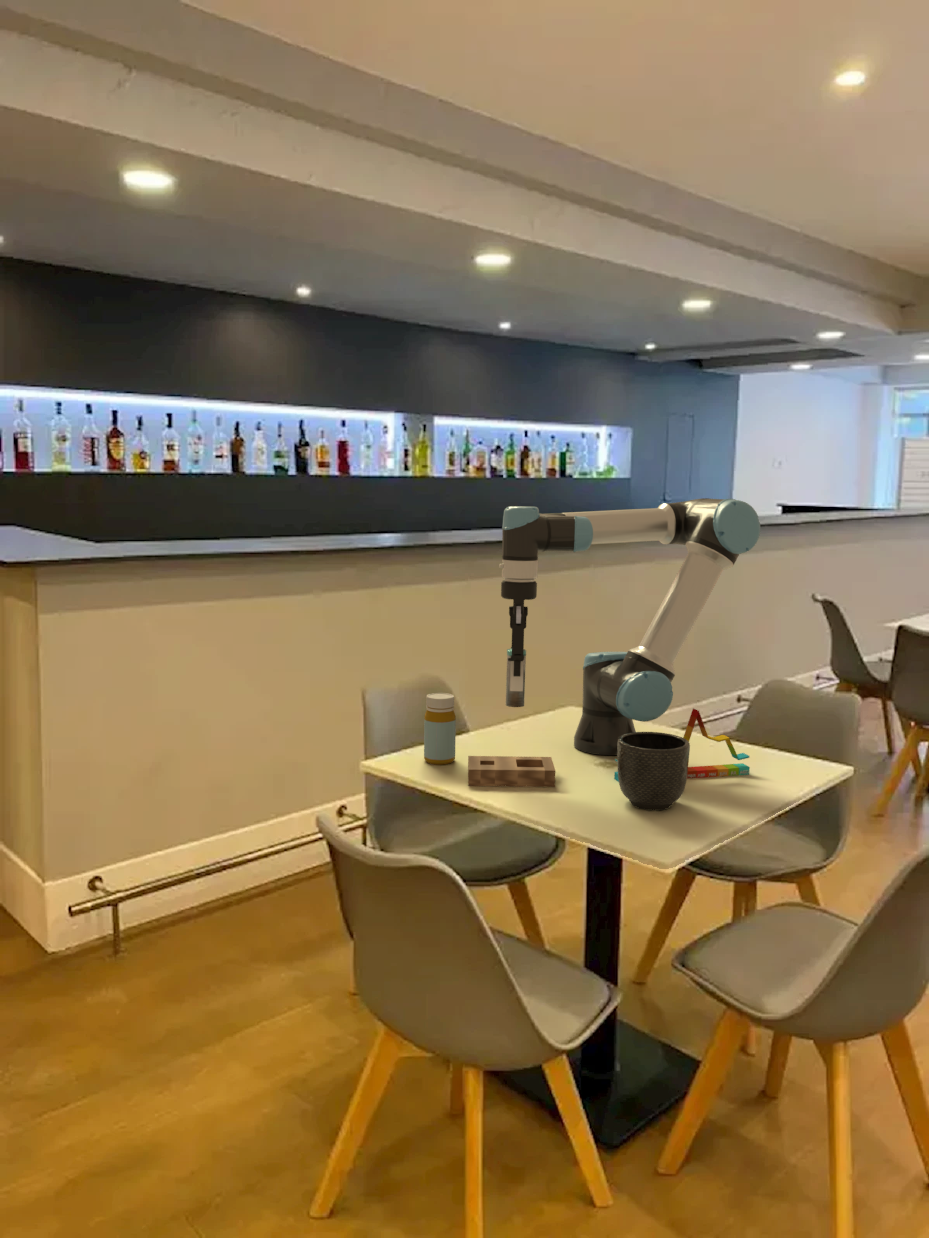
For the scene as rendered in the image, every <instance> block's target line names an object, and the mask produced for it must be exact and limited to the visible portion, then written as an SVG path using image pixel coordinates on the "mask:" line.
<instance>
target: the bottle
mask: <svg viewBox="0 0 929 1238" xmlns="http://www.w3.org/2000/svg"><path fill="white" fill-rule="evenodd" d="M425 699H426V700H425V701H426V711H425V714H424V725H423V726H424V727H423V728H424V729H423V730H424V731H423V733H424V734H423V735H424V737H423V759H424V760H425V762H426V763H428V764H431V765H435V766H436V765H438V766H445V765H449V764H452V763H453V762H454V761H455V760H456V735H457V734H456V733H457V731H456V726H457V724H456V723H457V722H456V721H457V720H456V714H455V707H454V706H455V696H454V694H453V693H452V694H451V693H447V692H434V693H428V694H426V698H425Z"/></svg>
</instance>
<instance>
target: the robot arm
mask: <svg viewBox="0 0 929 1238" xmlns="http://www.w3.org/2000/svg"><path fill="white" fill-rule="evenodd" d="M760 522H761V521H760V519H759V515H758V513H757V511H756V510H755V508H754V507H753V506H752V505H751V504H749V503H747V502H745V501H743V500H739V499H738V500H737V499H736V498H735V499H734V498H725V499H722V498H721V499H720V498H709V497H708V498H706V497H705V498H702V497H701V498H697V499H696V498H695V499H689V500H684V501H677V502H669V503H668V502H667V503H661V504H659V505H658V507H654V508H653V507H652V508H634V509H632V508H631V509H615V510H612V509H611V510H610V509H609V510H594V511H593V510H591V511H574V512H573V511H571V512H570V511H569V512H553V513H542V512H540V510H539V507H537V506H521V505H519V506H518V505H515V506H514V505H511V506H510V505H509V506H506V508H504V510H503V516H502V527H501V530H502V536H501V537H502V543H501V544H502V546H501V548H502V554H501V555H502V556H501V559H502V560H501V562H502V563H499V565H498V568H499V569H501V578H503V580H502V581H501V584H500V585H501V586H500V587H501V588H500V597H502V599H505V600H512V602H513V604H512V605H509V608H508V615H509V628H510V629H511V646H510V649H512V655H511V658H508V661H511V671H510V691H523V665H524V661H523V660H524V655H523V651H524V645H525V629H526V628H527V617H528V614H529V607H528V606H525V601H526V600H528V601H529V600H530V601H531V600H536V598H537V590H538V583H537V581H536V580H537V578H538V568H539V567H538V566H539V565H538V564H539V562H538V561H539V558H538V557H539V552H542V553H543V552H573V553H576V552H585V551H587V550H589V549H590V547H591V546H592V545H601V544H620V543H637V542H655V541H657V542H658V541H659V543H661V544H662V545H681V546H685V547H686V550H687V555H686V556H685V558H684V561H683V562H682V564H681V565H680V568H679V570H678V571H677V573H676V575H675V577H674V579H673V581H672V582H671V585H670V586H669V588H668V590H667V592H666V594H665V596H664V598H663V600H662V602H661V604H660V605H659V607H658V609H657V611H656V612H655V615H654V617H653V618H652V620H651V623H650V624H649V626H648V628H647V629H646V631H645V634H644V635H643V637H642V639H641V641H640V643H639V644H638V646H636V647H632V648H630V649H628V650H627V651H598V652H589V653H586V655H585V656H584V659H583V667H582V671H583V674H582V675H583V676H582V709H581V710H582V713H581V714H582V715H581V717H580V719H579V721H578V725H577V728H576V731H575V734H574V737H573V738H574V739H573V746H574V748H575V749H577V750H578V751H582V752H584V753H587V754H593V755H599V756H600V755H601V756H617V741H618V738H619V737H620V736H621V735H624V734H627V733H633V732H637V731H636V728H635V725H634V720H635V721H637V722H651V721H655V720H657V719H658V718H660V717H662V716H663V715H664V714H665V713H666V712H667V711H668V709H669V708H670V706H671V704H672V702H673V697H674V691H673V684H672V682H673V680H674V678H675V676H676V671H675V668H674V663H675V661H676V659H677V657H678V655H679V653H680V652H681V650H682V648H683V646H684V644H685V642H686V640H687V638H688V637H689V635H690V633H691V631H692V629H693V627H694V626H695V623H696V622H697V620H698V618H699V616H700V614H701V612H702V611H703V609H704V607H705V605H706V603H707V601H708V599H709V597H710V595H711V593H712V592H713V590H714V588H715V586H716V584H717V583H718V580H719V579H720V577H721V575H722V572H724V570H728V569H731V568H733V567H734V565H735V563H736V561H737V559H738V557H740V555H741V554H745V553H747V552H749V551H751V550H752V549H753V548H754V547H755V546H756V544H757V543H758V541H759V538H760V534H761V523H760Z"/></svg>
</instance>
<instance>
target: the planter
mask: <svg viewBox="0 0 929 1238" xmlns="http://www.w3.org/2000/svg"><path fill="white" fill-rule="evenodd" d="M690 744H691V742H690V741H689V742H688V741H687V740H686V739H684V738H683V736H679V735H676V734H671V733H666V732H657V731H636V732H633V733H627V734H624V735H621V736H620V737H619V738H618V741H617V755H616V759H617V761H616V762H617V764H616V765H617V772H618V779H619V782H618V784H619V788H620V791H621V793H622V794H623V796H624V797H625V798H627V799H628V800H629V803H630V805H632V806H633V807H635V808H638V809H640V810H645V811H663V810H667V809H669V808H671V807H672V806H673V804H674V803H675V802H677V801H678V800H680V798H681V797H682V795H683V794H684V791H685V789H686V784H687V772H688V767H689V761H690V751H691V745H690Z"/></svg>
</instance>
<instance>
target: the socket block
mask: <svg viewBox="0 0 929 1238" xmlns="http://www.w3.org/2000/svg"><path fill="white" fill-rule="evenodd" d="M555 768H556V767H555V764H554V761H553V758H552V756H507V755H506V756H504V755H503V756H501V755H498V756H497V755H492V756H491V755H468V759H467V779H468V781H467V782H468V784H467V786H468V787H527V788H528V787H529V788H530V787H531V788H533V787H535V788H556V769H555Z"/></svg>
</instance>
